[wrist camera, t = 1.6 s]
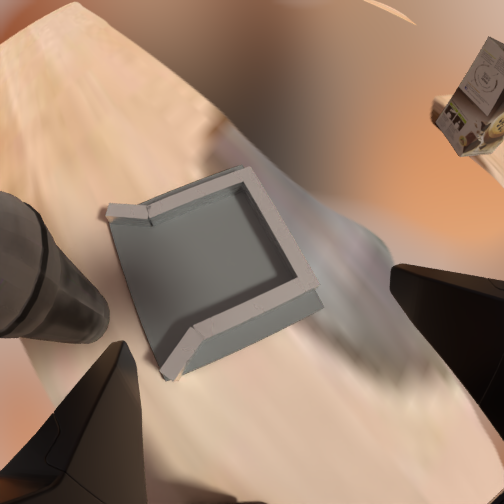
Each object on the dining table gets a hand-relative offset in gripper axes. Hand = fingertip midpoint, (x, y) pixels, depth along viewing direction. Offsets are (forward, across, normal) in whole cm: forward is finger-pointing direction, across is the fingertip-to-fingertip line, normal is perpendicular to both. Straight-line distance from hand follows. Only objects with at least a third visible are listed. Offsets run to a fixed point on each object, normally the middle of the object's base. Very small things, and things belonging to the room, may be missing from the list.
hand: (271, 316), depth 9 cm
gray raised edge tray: (+15, +1, +4) cm, 15 cm away
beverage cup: (+14, +12, +6) cm, 19 cm away
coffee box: (+20, -36, -2) cm, 42 cm away
